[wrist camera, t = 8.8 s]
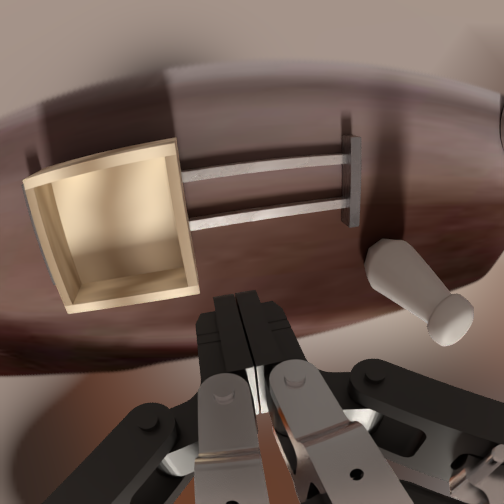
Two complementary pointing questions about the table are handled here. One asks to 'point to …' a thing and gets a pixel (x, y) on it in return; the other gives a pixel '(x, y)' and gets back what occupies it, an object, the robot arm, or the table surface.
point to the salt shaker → (418, 290)
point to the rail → (347, 202)
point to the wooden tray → (115, 227)
